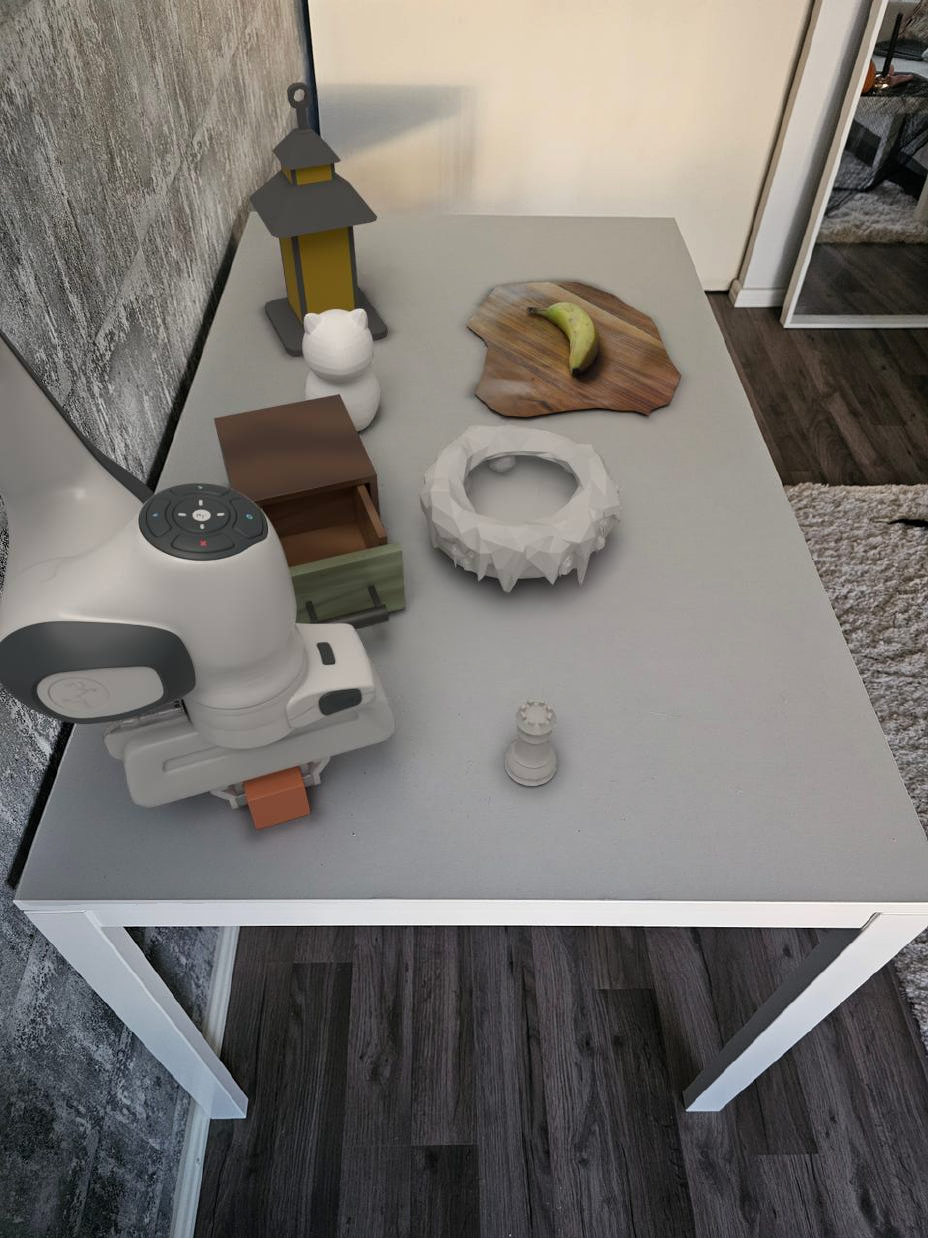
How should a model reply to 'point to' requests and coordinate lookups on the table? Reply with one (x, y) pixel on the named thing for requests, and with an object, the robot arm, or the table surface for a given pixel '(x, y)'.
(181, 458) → the table surface
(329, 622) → the drawer
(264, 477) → the cabinet
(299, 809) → the block
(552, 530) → the bowl
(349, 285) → the lantern
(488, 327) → the cutting board
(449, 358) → the table surface
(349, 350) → the cat figurine
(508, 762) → the rook chess piece
